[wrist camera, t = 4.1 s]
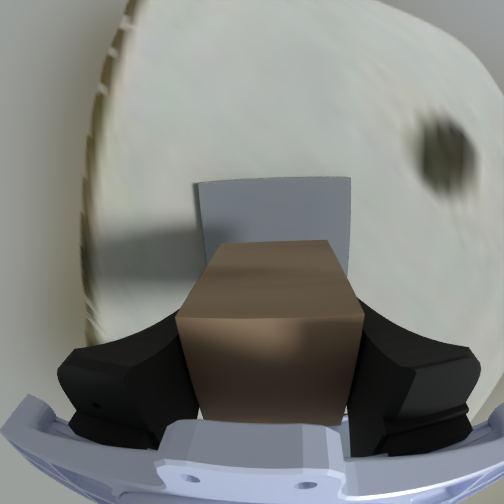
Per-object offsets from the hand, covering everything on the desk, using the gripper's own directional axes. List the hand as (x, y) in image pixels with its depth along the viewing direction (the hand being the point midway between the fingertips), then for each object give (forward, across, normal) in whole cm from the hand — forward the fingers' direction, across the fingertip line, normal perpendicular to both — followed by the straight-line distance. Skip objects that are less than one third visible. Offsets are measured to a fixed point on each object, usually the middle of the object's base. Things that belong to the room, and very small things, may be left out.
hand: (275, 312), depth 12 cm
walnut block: (+2, 0, 0) cm, 2 cm away
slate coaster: (+8, 0, 0) cm, 8 cm away
